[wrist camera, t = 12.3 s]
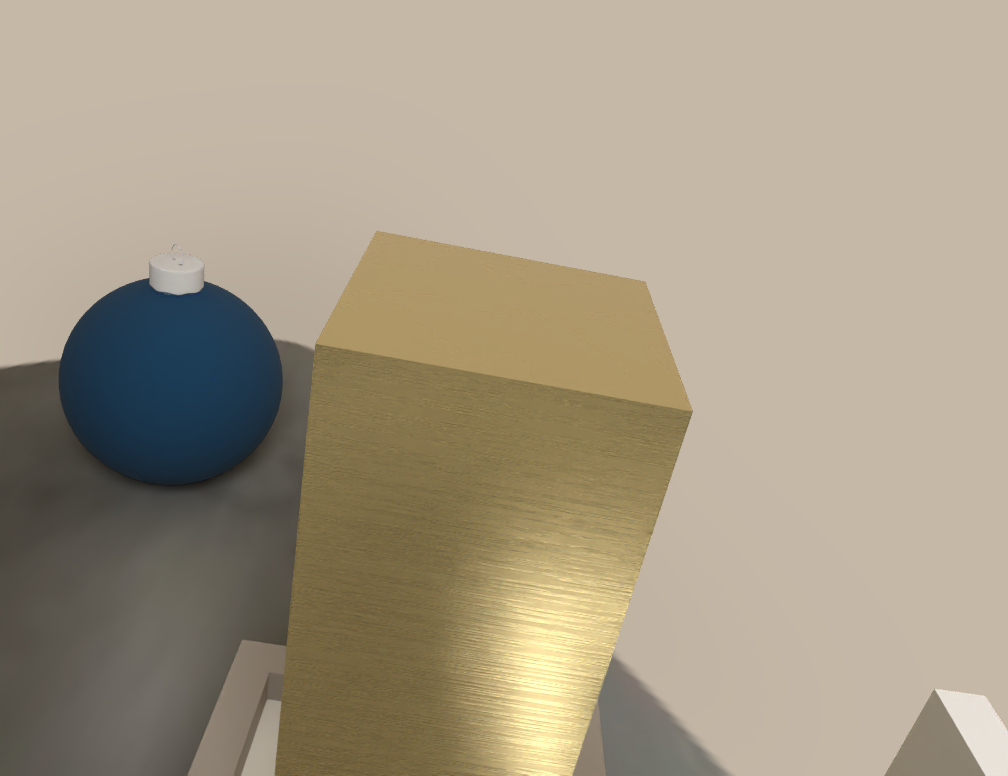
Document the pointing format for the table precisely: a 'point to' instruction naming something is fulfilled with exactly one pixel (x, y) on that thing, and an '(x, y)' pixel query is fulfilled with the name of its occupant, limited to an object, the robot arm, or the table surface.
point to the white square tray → (256, 715)
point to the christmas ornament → (170, 376)
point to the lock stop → (471, 512)
